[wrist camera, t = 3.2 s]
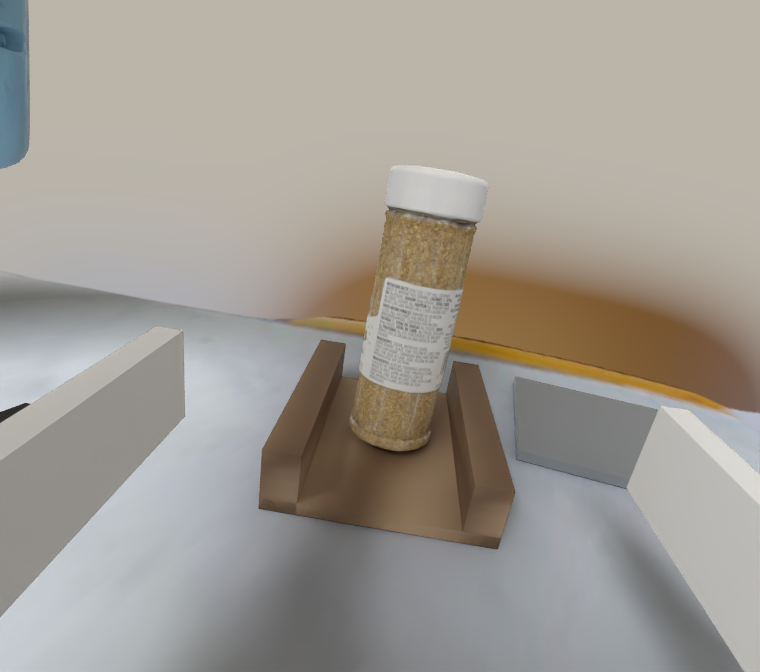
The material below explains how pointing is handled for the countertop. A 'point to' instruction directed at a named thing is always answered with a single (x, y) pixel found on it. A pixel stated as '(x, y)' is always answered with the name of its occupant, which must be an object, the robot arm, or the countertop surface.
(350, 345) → the countertop surface
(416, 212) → the spice jar
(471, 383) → the walnut cradle
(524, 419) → the slate coaster
